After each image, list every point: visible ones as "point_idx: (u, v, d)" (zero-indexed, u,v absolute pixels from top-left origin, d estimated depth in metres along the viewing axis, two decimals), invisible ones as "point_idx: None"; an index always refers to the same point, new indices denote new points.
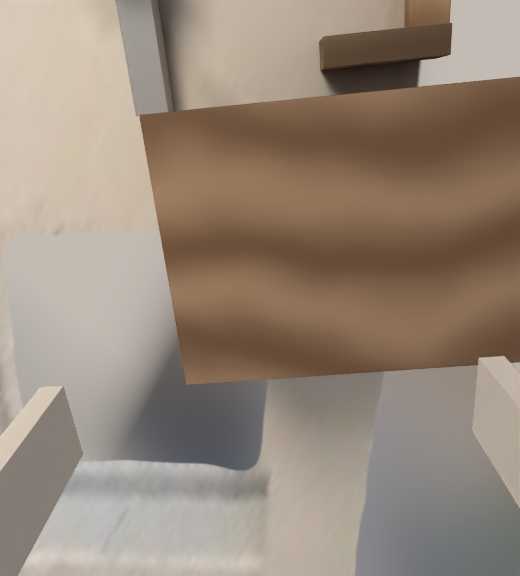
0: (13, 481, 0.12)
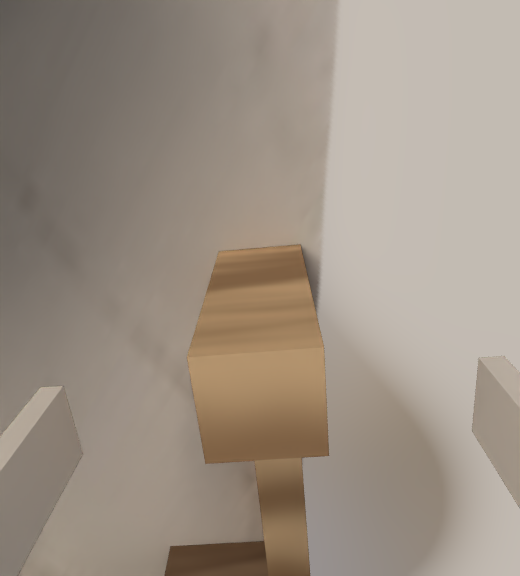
0: (13, 480, 0.12)
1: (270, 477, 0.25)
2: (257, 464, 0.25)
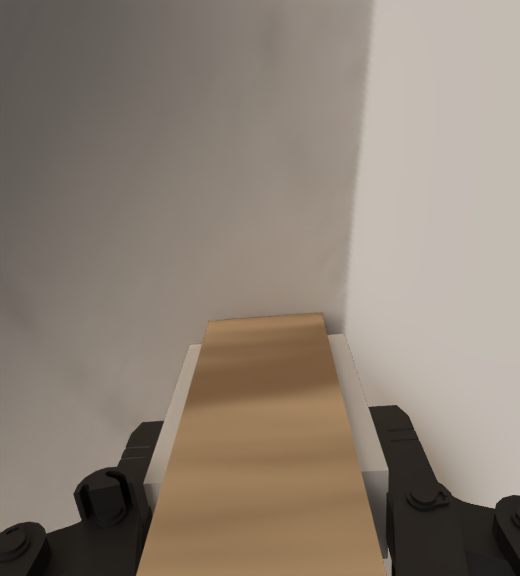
0: None
1: None
2: None
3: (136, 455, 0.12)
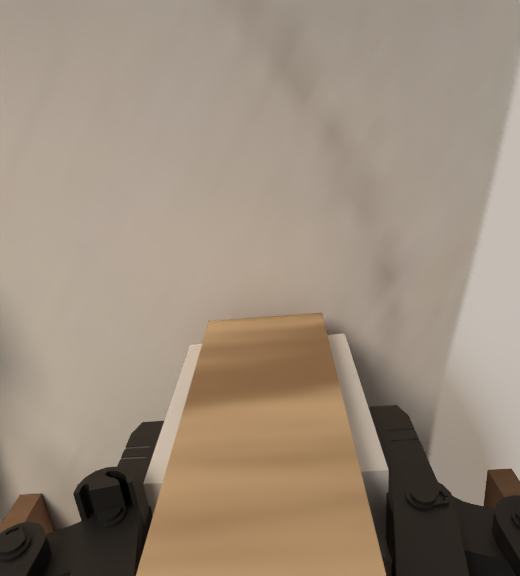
0: None
1: None
2: None
3: (136, 455, 0.12)
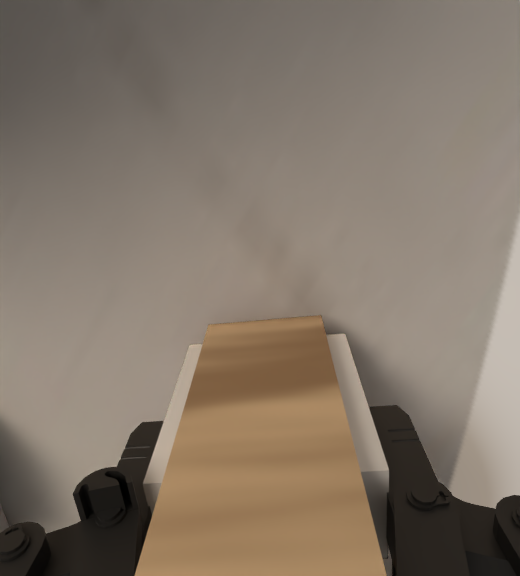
0: None
1: None
2: None
3: (135, 455, 0.12)
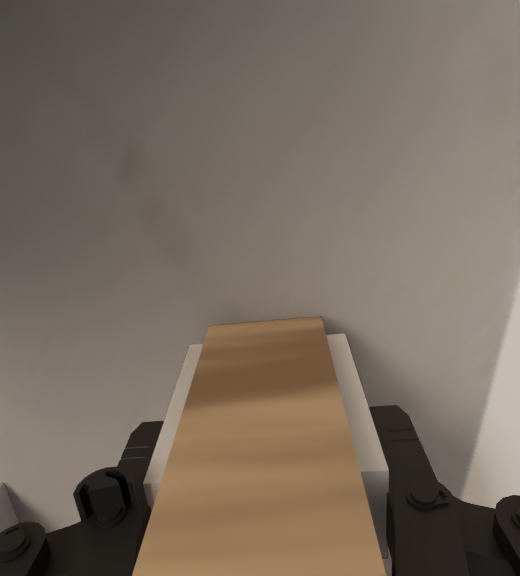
0: None
1: None
2: None
3: (136, 455, 0.12)
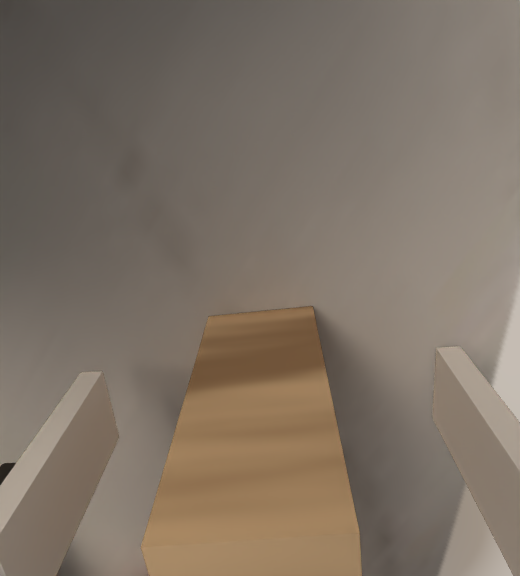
0: (65, 457, 0.12)
1: None
2: None
3: None
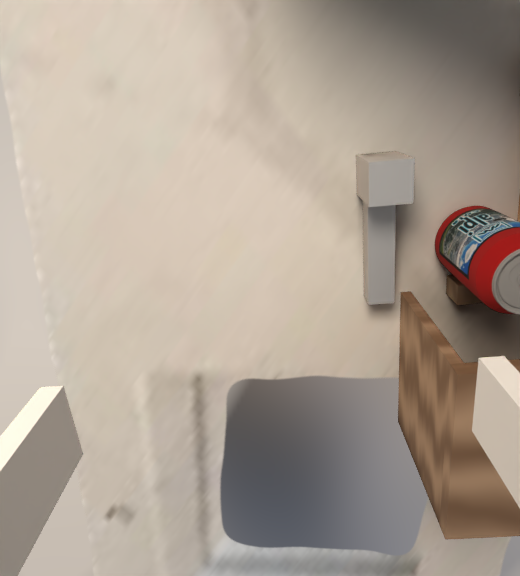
0: (13, 480, 0.12)
1: None
2: None
3: None
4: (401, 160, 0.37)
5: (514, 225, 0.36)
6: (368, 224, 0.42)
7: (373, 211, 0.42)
